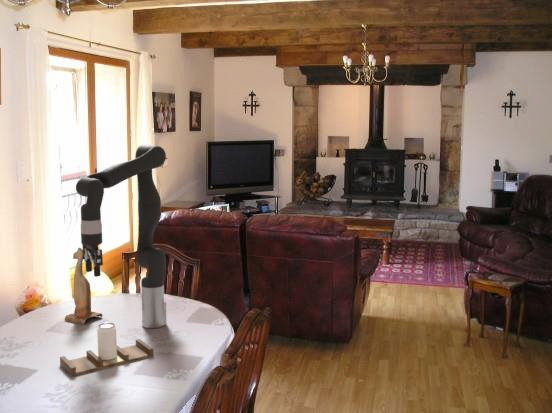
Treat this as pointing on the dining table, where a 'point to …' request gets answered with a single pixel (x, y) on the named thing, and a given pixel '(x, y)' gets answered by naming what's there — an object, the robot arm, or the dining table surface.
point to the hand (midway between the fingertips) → (93, 273)
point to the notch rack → (95, 363)
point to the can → (107, 341)
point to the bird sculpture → (81, 294)
